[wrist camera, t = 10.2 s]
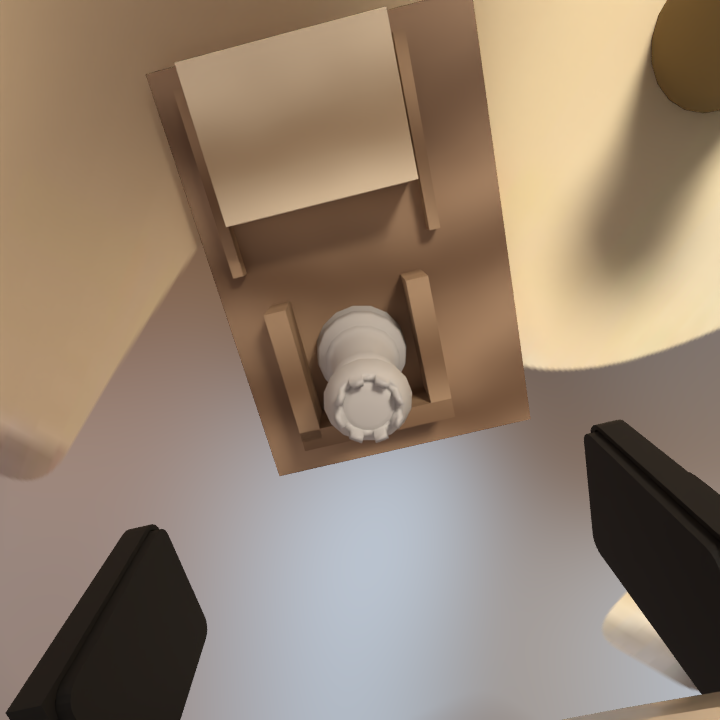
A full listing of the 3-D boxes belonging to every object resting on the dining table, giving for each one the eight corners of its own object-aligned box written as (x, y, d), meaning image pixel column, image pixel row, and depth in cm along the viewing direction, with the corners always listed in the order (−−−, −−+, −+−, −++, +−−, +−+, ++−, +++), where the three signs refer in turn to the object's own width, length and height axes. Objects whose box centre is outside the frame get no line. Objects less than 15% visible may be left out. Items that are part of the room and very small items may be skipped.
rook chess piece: (348, 285, 23) (351, 324, 16) (422, 334, 24) (459, 394, 17) (299, 358, 24) (280, 428, 17) (372, 403, 25) (385, 488, 18)
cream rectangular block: (196, 81, 20) (174, 62, 18) (380, 32, 20) (386, 6, 17) (240, 224, 22) (225, 226, 19) (409, 182, 22) (418, 178, 19)
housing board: (156, 81, 21) (122, 59, 18) (464, -1, 21) (486, -39, 18) (282, 464, 28) (274, 499, 24) (522, 409, 27) (546, 437, 24)
